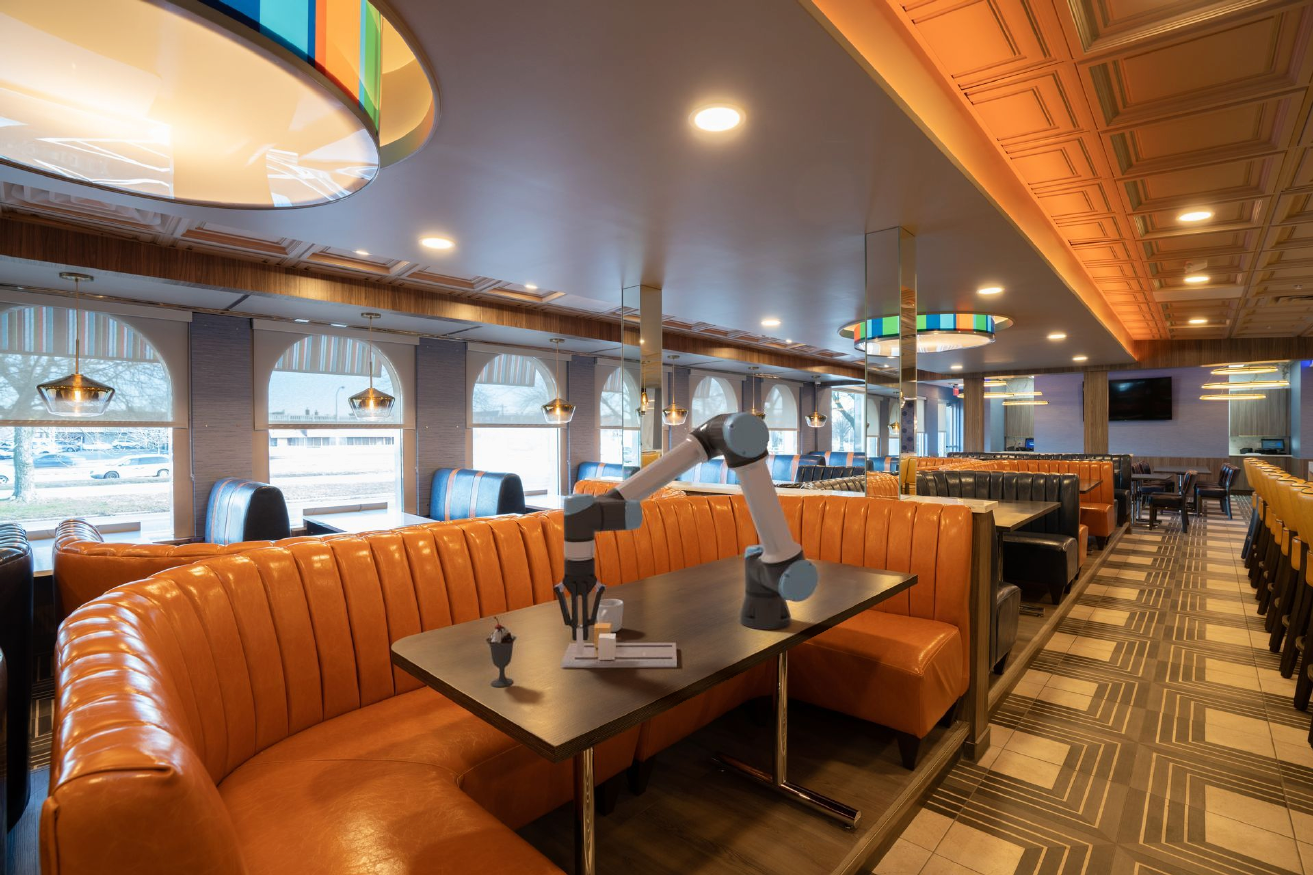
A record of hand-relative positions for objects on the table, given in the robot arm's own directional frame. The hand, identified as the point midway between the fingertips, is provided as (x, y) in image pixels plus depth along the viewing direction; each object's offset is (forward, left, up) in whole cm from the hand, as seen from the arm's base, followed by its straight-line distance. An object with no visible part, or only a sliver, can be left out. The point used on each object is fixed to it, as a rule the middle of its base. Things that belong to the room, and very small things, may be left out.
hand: (580, 653), depth 150 cm
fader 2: (-6, 0, -1) cm, 7 cm away
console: (-9, -4, -3) cm, 11 cm away
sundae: (+17, +11, -3) cm, 20 cm away
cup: (-4, -25, -3) cm, 26 cm away
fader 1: (-5, -8, -1) cm, 10 cm away
